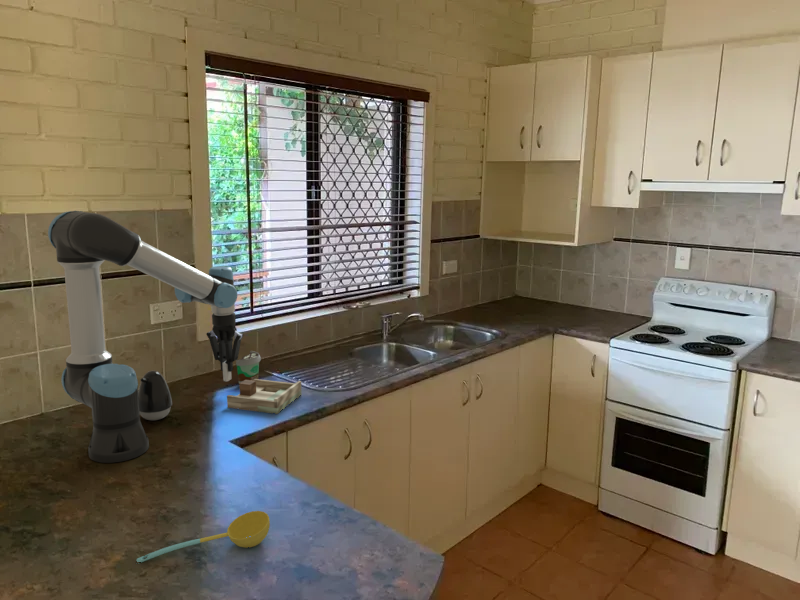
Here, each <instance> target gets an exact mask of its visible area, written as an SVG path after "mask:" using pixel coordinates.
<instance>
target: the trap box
mask: <svg viewBox="0 0 800 600" xmlns="http://www.w3.org/2000/svg"><path fill="white" fill-rule="evenodd" d="M253 381H256V393H254V394H253V395H251V396H246V395H240V393H239V394H237V395H230V394H228V395H226V404H227V408H228V409H235V410H242V411H243V410H245V411H251V412H256V413H257V412H258V413H265V414H267V413H268V414H273V413H275V415H278V414H279V413H281V412H282V411H283V410H284V409H286V408H287V407H288V406H289V405H288V404H290V403H291V402H292V401H293V402H294V400H295V399H296V398H297V399H299V398H300V397H301V396H302V381H300V380H298V381H296V382H295V383H294V382H285V381H278V380H277V381H276V380H268V379H259V378H258V379H253ZM300 395H301V396H300ZM299 396H300V397H299ZM297 399H296V400H297ZM296 400H295V401H296ZM293 402H292V403H293ZM292 403H291V404H292ZM291 404H290V405H291ZM287 405H288V406H287ZM286 406H287V407H286ZM285 407H286V408H285ZM282 409H283V410H282ZM281 410H282V411H281ZM280 411H281V412H280Z"/></svg>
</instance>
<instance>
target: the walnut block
mask: <svg viewBox="0 0 800 600" xmlns="http://www.w3.org/2000/svg"><path fill="white" fill-rule="evenodd" d="M238 386H239V394H240V395H246V396H251V395H253V394H254V393H256V381H252V380H244V381H243V382H241V383H239V382H238Z"/></svg>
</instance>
